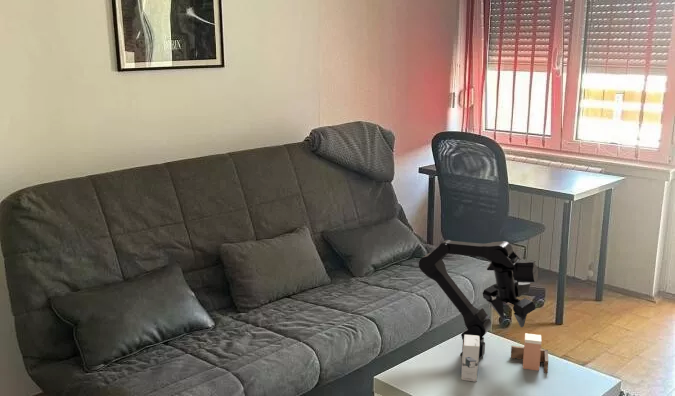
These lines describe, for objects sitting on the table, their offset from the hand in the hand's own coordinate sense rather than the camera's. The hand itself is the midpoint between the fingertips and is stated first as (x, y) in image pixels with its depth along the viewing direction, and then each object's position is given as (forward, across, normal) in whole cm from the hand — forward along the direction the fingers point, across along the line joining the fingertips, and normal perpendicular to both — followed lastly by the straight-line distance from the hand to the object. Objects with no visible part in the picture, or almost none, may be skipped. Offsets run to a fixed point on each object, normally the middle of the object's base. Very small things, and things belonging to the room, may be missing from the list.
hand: (512, 321), depth 218 cm
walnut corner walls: (+13, -7, +2) cm, 15 cm away
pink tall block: (+13, -8, +2) cm, 15 cm away
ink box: (+7, -3, +22) cm, 24 cm away
